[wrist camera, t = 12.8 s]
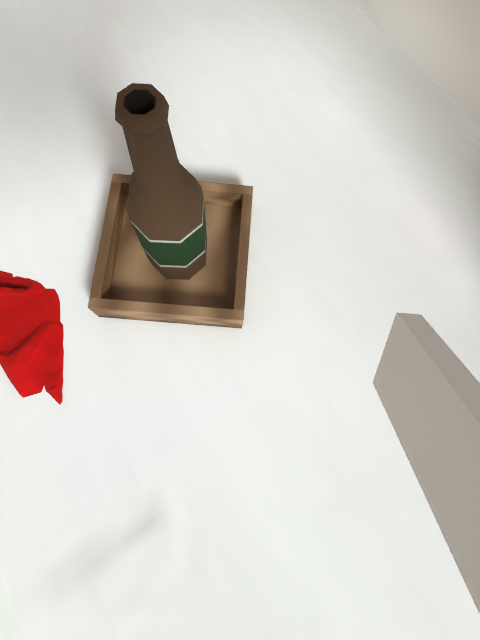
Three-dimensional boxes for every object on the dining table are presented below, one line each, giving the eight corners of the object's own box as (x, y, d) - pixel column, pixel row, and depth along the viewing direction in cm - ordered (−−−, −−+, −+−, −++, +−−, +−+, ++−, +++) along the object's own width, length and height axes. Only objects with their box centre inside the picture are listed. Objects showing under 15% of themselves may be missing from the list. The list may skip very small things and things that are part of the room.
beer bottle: (141, 238, 48) (65, 70, 25) (197, 221, 49) (176, 43, 26) (160, 291, 46) (97, 163, 23) (218, 271, 47) (214, 130, 24)
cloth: (107, 382, 44) (101, 381, 42) (-2, 446, 42) (-14, 447, 40) (20, 218, 49) (10, 209, 47) (-81, 266, 47) (-96, 258, 45)
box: (250, 203, 51) (252, 186, 47) (241, 328, 46) (243, 320, 42) (121, 192, 50) (113, 173, 47) (99, 316, 46) (87, 307, 42)
